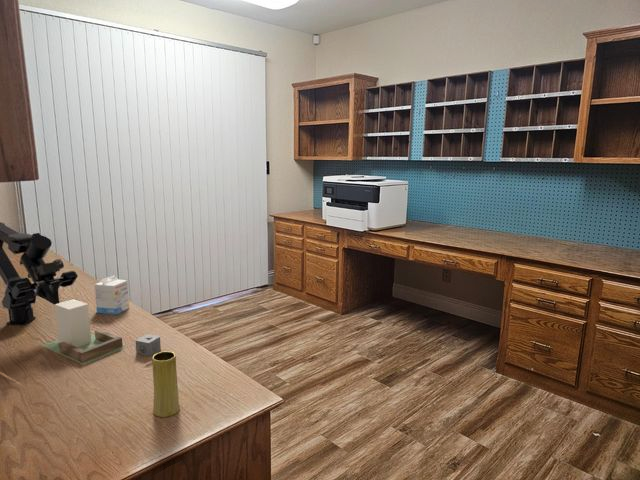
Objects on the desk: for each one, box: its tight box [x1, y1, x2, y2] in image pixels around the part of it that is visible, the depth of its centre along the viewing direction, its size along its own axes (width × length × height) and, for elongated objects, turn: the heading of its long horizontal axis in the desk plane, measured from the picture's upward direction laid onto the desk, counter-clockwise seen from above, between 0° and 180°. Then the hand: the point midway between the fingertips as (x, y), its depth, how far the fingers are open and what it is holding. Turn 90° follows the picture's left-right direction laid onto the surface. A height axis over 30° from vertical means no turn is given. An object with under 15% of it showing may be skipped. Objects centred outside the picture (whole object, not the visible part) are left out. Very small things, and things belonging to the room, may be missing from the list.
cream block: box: [54, 298, 91, 347], centre depth 137 cm, size 8×6×13 cm
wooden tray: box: [59, 328, 124, 363], centre depth 134 cm, size 12×13×3 cm
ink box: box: [94, 275, 130, 316], centre depth 166 cm, size 9×8×13 cm
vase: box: [151, 350, 181, 418], centre depth 103 cm, size 6×6×14 cm
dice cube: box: [135, 333, 162, 357], centre depth 133 cm, size 5×5×5 cm
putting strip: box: [40, 332, 127, 366], centre depth 136 cm, size 23×14×1 cm, turn 59°
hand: (57, 304), depth 140 cm, fingers closed
